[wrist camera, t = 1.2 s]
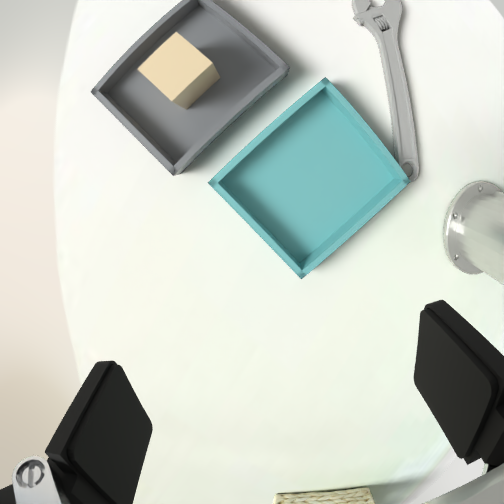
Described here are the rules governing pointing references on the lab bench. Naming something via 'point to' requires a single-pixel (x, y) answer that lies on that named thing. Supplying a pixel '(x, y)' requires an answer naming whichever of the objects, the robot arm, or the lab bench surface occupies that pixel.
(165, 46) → the sandstone block
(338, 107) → the teal bin
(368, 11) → the adjustable wrench
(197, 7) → the charcoal bin
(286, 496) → the storage basket
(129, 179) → the lab bench surface
